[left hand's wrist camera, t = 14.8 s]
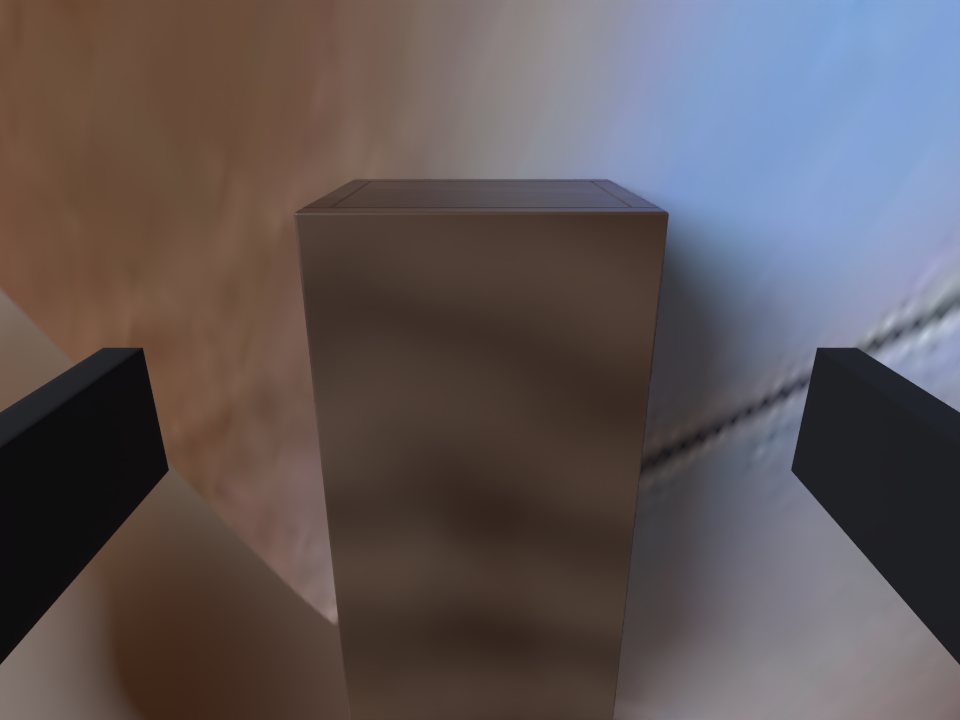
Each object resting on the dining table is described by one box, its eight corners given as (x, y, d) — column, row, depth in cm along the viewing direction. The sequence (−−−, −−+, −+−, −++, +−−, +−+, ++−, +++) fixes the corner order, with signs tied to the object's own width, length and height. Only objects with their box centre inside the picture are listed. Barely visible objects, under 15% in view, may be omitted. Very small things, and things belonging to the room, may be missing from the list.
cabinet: (578, 587, 32) (610, 742, 24) (382, 587, 32) (351, 742, 24) (609, 179, 25) (669, 212, 17) (352, 179, 25) (293, 212, 17)
